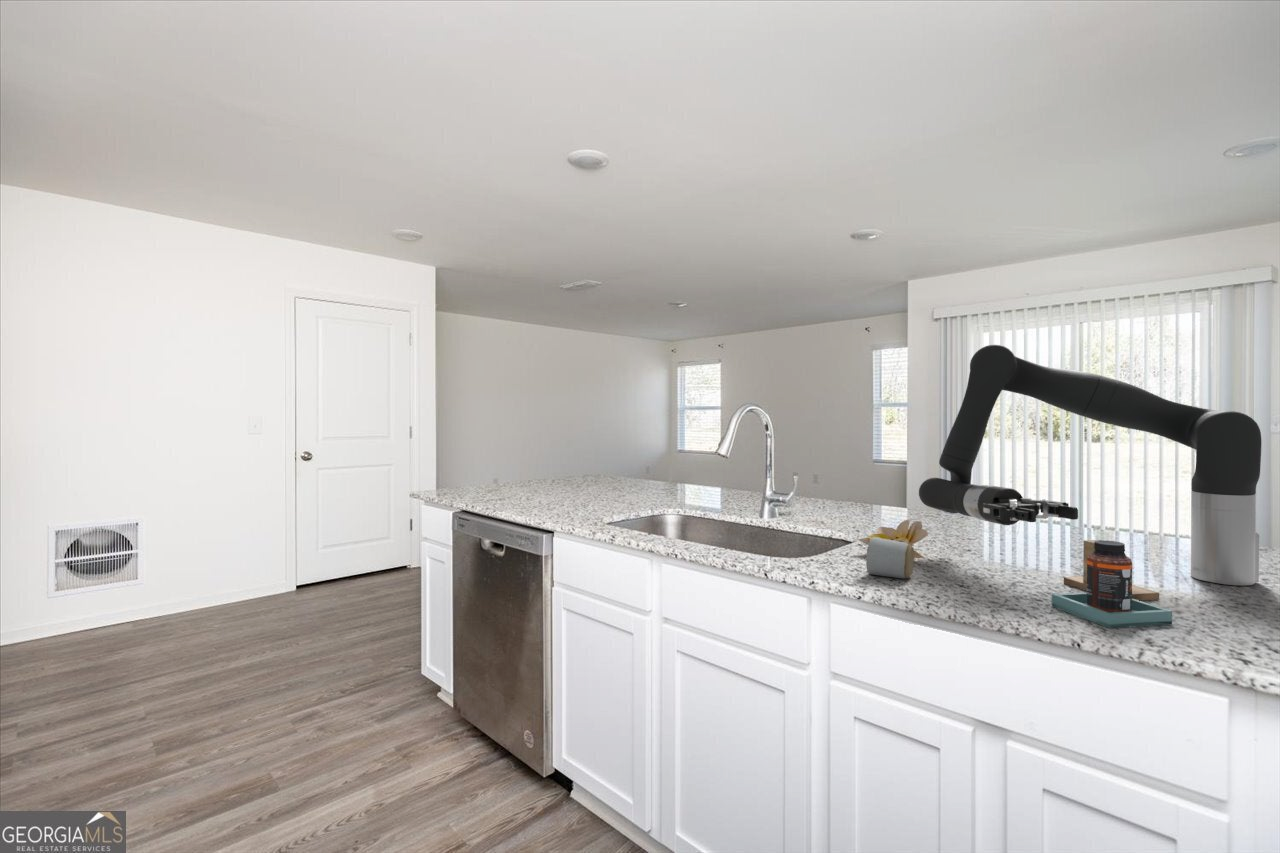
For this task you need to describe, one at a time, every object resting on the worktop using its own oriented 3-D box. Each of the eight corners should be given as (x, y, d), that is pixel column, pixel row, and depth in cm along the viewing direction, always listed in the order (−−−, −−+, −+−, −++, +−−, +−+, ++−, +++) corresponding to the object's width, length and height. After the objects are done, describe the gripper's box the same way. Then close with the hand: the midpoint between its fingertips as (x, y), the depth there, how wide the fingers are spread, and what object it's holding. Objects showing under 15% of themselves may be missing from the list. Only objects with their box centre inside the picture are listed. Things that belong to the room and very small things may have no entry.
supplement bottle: (1140, 618, 98) (1141, 546, 98) (1097, 615, 100) (1098, 545, 99) (1119, 606, 104) (1120, 539, 104) (1079, 604, 105) (1080, 538, 105)
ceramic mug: (908, 583, 122) (908, 544, 122) (865, 577, 126) (865, 539, 126) (918, 572, 130) (918, 536, 130) (877, 567, 135) (877, 532, 135)
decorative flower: (847, 542, 151) (858, 503, 151) (889, 552, 153) (900, 513, 152) (879, 561, 136) (891, 518, 136) (925, 571, 138) (937, 528, 138)
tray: (1109, 603, 108) (1109, 591, 108) (1172, 624, 97) (1172, 611, 97) (1051, 606, 106) (1051, 594, 106) (1109, 628, 95) (1109, 614, 95)
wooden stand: (1100, 581, 122) (1100, 534, 122) (1159, 599, 110) (1159, 547, 110) (1063, 583, 121) (1063, 536, 120) (1119, 601, 109) (1119, 549, 109)
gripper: (960, 487, 128) (1019, 496, 112) (1023, 484, 130) (1089, 492, 114) (962, 524, 128) (1020, 538, 112) (1024, 520, 130) (1091, 533, 114)
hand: (1055, 515), depth 113 cm, fingers open, 8 cm apart
